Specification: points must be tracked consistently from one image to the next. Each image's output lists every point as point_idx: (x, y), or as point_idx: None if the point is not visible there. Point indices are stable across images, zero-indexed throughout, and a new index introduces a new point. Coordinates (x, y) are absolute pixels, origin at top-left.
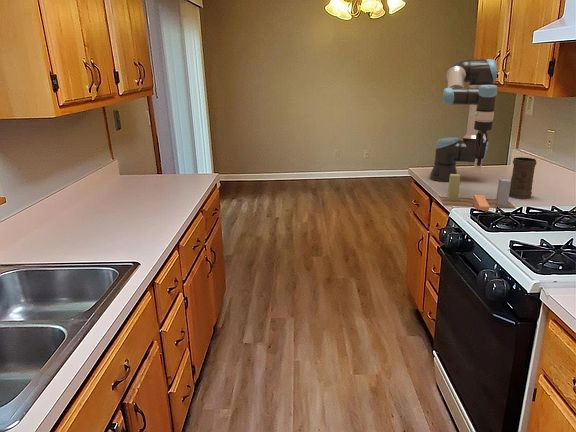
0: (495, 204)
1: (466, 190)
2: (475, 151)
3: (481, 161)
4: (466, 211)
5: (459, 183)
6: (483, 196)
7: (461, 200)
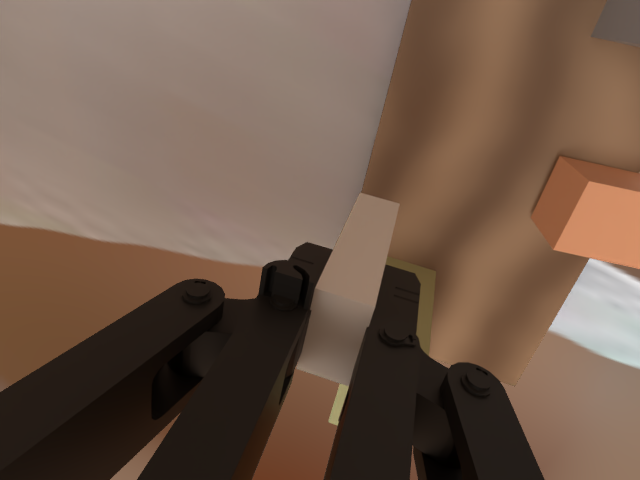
0: (595, 37)
1: (122, 49)
2: (170, 412)
3: (379, 284)
4: (621, 293)
5: (428, 349)
6: (619, 195)
7: (425, 240)
